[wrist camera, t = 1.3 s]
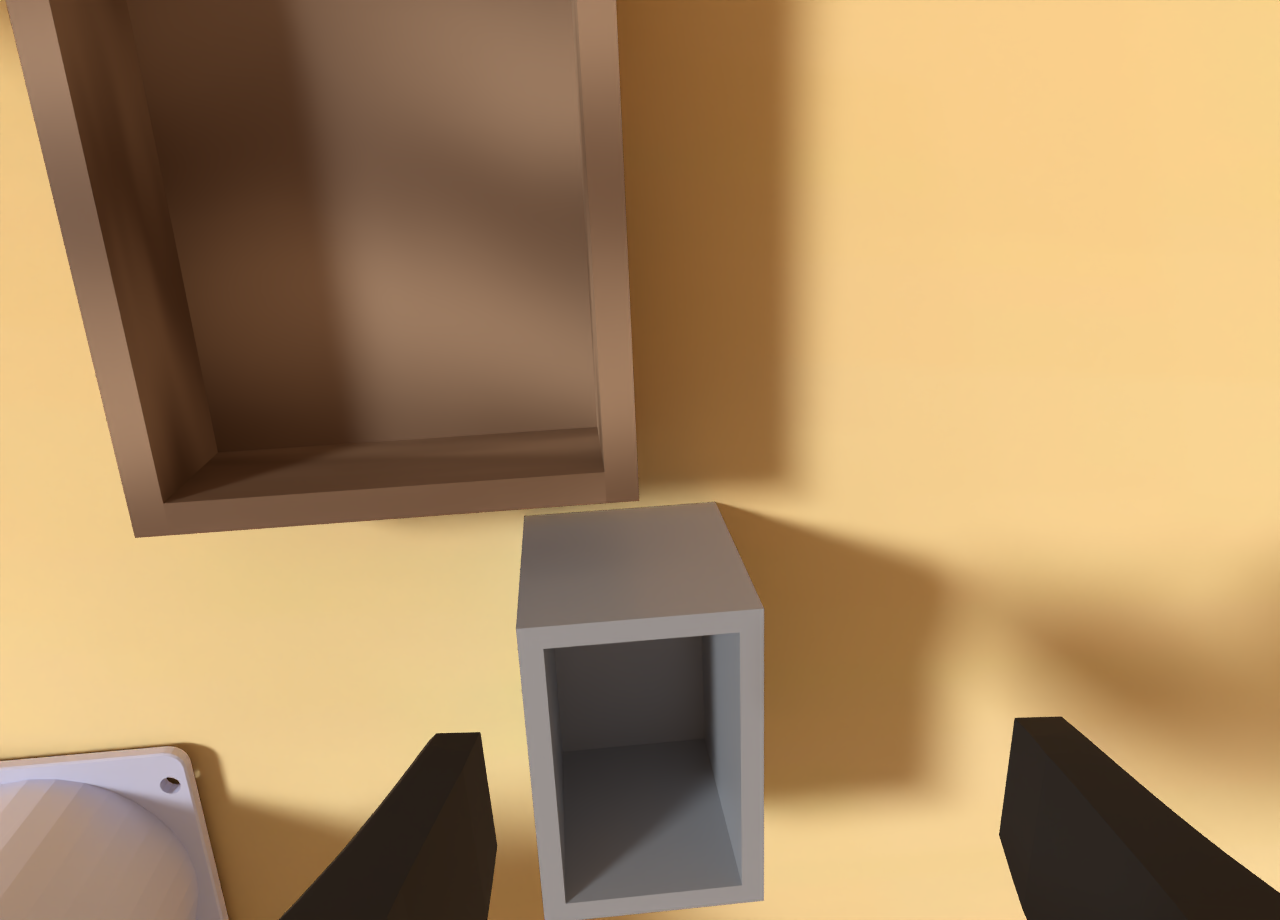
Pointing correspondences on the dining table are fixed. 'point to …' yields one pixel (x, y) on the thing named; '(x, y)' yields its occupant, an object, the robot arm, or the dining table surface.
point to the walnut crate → (344, 251)
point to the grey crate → (642, 710)
